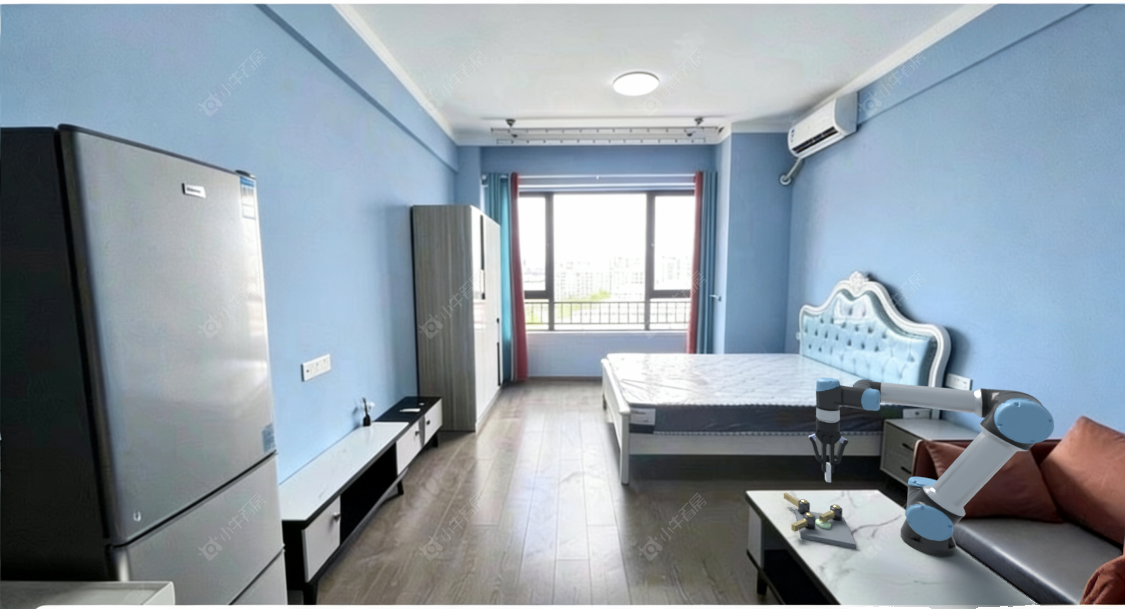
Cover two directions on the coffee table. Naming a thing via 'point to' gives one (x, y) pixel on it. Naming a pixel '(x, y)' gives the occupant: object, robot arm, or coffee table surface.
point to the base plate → (827, 531)
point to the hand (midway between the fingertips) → (827, 480)
